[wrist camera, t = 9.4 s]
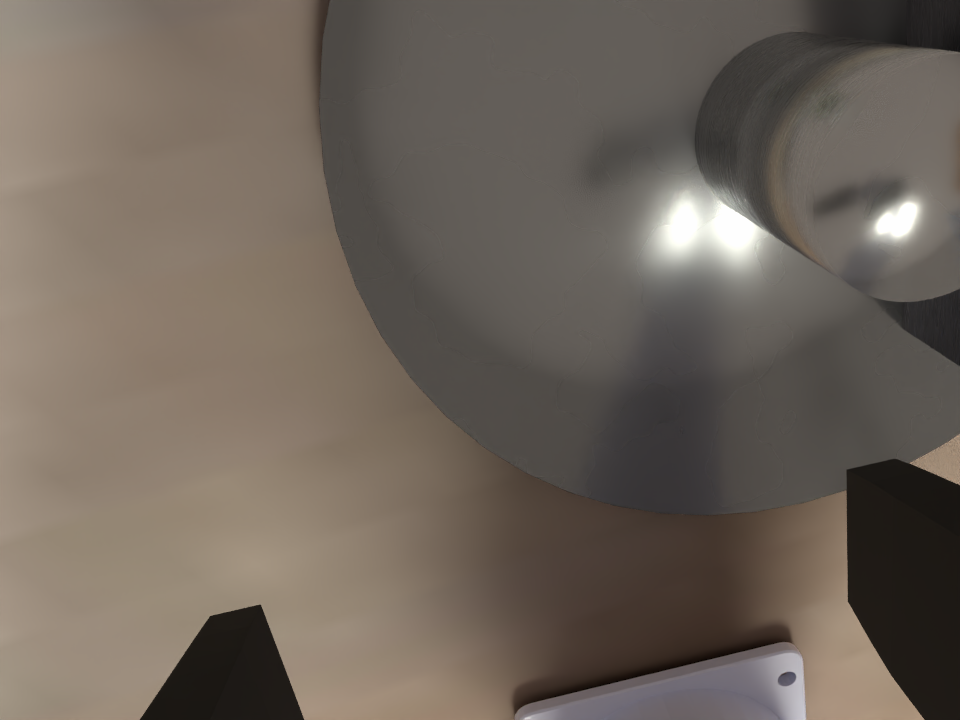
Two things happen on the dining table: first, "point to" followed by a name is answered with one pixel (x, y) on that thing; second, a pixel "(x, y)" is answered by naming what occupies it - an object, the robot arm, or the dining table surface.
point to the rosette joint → (659, 232)
